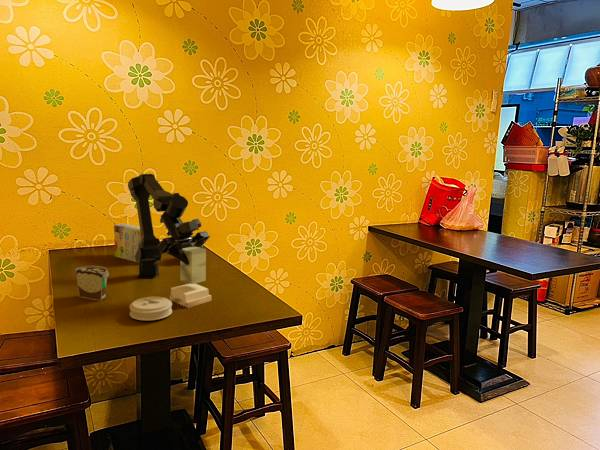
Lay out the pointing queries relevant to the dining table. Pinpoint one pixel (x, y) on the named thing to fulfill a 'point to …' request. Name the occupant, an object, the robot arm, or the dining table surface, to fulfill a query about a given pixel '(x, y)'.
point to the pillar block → (193, 265)
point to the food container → (92, 282)
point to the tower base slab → (190, 303)
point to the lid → (150, 308)
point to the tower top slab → (189, 292)
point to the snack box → (126, 241)
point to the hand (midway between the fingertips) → (195, 262)
